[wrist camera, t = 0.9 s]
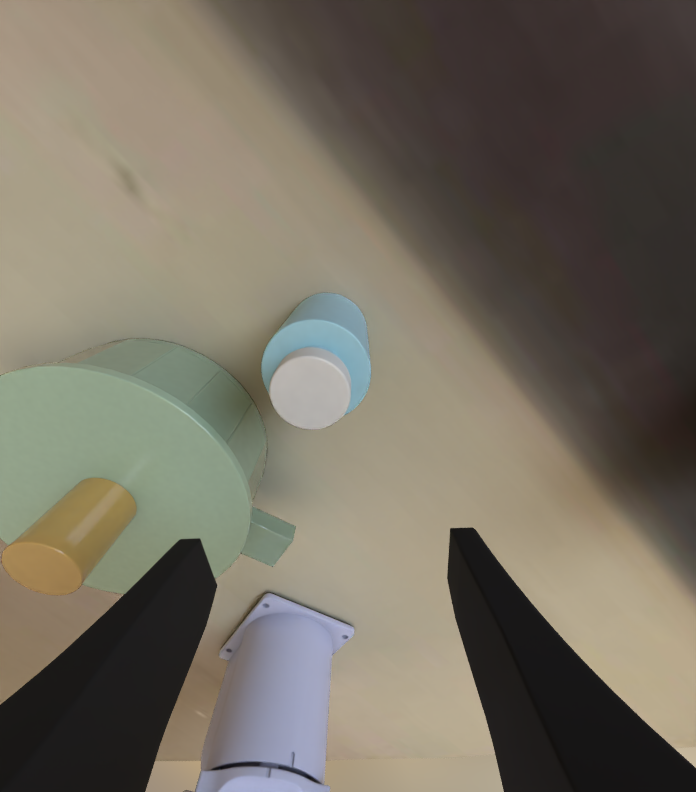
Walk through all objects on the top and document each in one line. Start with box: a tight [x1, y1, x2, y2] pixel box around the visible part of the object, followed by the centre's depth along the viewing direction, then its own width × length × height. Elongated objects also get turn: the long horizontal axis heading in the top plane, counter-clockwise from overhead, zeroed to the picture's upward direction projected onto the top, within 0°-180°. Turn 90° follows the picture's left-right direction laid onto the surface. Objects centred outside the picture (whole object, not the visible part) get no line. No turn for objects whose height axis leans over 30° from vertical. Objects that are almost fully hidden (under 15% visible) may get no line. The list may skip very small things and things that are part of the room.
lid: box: [0, 362, 253, 595], centre depth 15 cm, size 13×13×5 cm
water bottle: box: [261, 293, 371, 430], centre depth 14 cm, size 4×4×7 cm
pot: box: [57, 338, 296, 567], centre depth 18 cm, size 12×17×5 cm
